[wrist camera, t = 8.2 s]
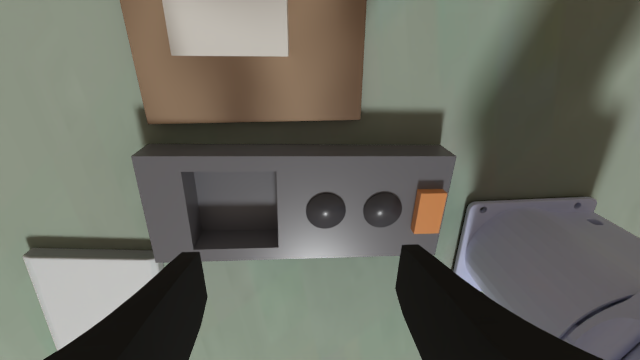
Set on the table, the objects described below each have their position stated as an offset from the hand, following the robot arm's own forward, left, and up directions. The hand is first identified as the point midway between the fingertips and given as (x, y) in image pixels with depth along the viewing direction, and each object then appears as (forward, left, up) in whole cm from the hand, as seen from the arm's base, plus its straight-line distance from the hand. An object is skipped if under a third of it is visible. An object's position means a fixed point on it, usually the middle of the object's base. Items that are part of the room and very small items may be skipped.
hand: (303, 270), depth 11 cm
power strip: (0, +2, -10) cm, 10 cm away
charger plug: (+2, -9, -9) cm, 13 cm away
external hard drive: (+14, +11, -10) cm, 21 cm away
